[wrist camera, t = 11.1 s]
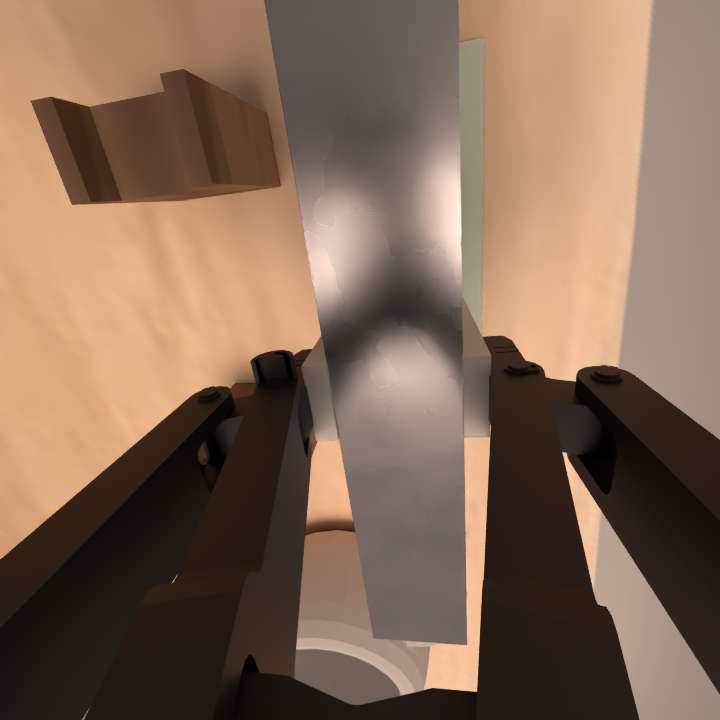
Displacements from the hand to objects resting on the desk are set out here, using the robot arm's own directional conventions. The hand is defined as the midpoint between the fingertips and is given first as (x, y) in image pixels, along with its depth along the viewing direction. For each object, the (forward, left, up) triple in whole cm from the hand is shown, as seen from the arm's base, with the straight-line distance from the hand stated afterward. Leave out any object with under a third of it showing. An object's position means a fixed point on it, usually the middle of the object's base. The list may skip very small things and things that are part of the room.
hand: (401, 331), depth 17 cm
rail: (0, 0, +2) cm, 2 cm away
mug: (-6, -29, -10) cm, 31 cm away
